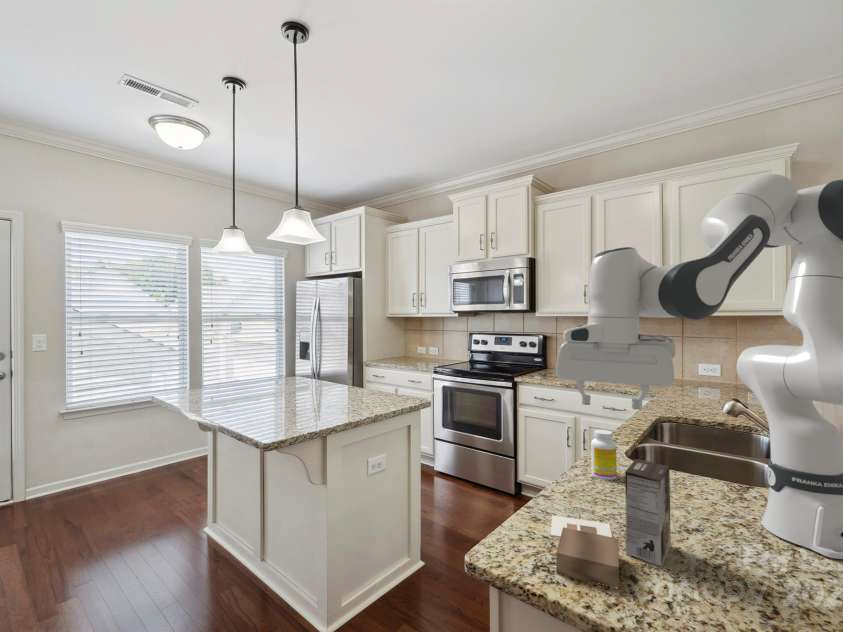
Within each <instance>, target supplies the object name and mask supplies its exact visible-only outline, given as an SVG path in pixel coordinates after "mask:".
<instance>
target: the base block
mask: <svg viewBox="0 0 843 632" xmlns="http://www.w3.org/2000/svg"><path fill="white" fill-rule="evenodd" d="M619 540H620V539H619V538H617V537H613V536H612V537H608V536H603V535H598V534H593V533H588V532H584V531H579V530H574V529H569V528H564V527H563V530H562V533H561V537H559V540H558V541H559V542H558V545H557V549H556V559H555V560H556V564H555V565H556V568H555V570H556V574H557V575H561V576H565V577H568V578H572V579H577V580H580V579H581V580H580V581H584V580H585V582H588V581H590V582H589V583H592V582H594V583H593V584H596V583H600V584H604V585H607V586H606V587H608V586H612V587H617V588H620V580H619V579H620V578H619V577H620V574H619V573H620V572H619V571H620V569H619V568H620V567H619V566H620V565H619V564H620V563H619V562H620V561H619V560H620V558H619V557H620V555H619V554H620V553H619V549H620V547H619V545H620V543H619ZM600 584H599V585H600ZM604 585H603V586H604Z"/></svg>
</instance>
